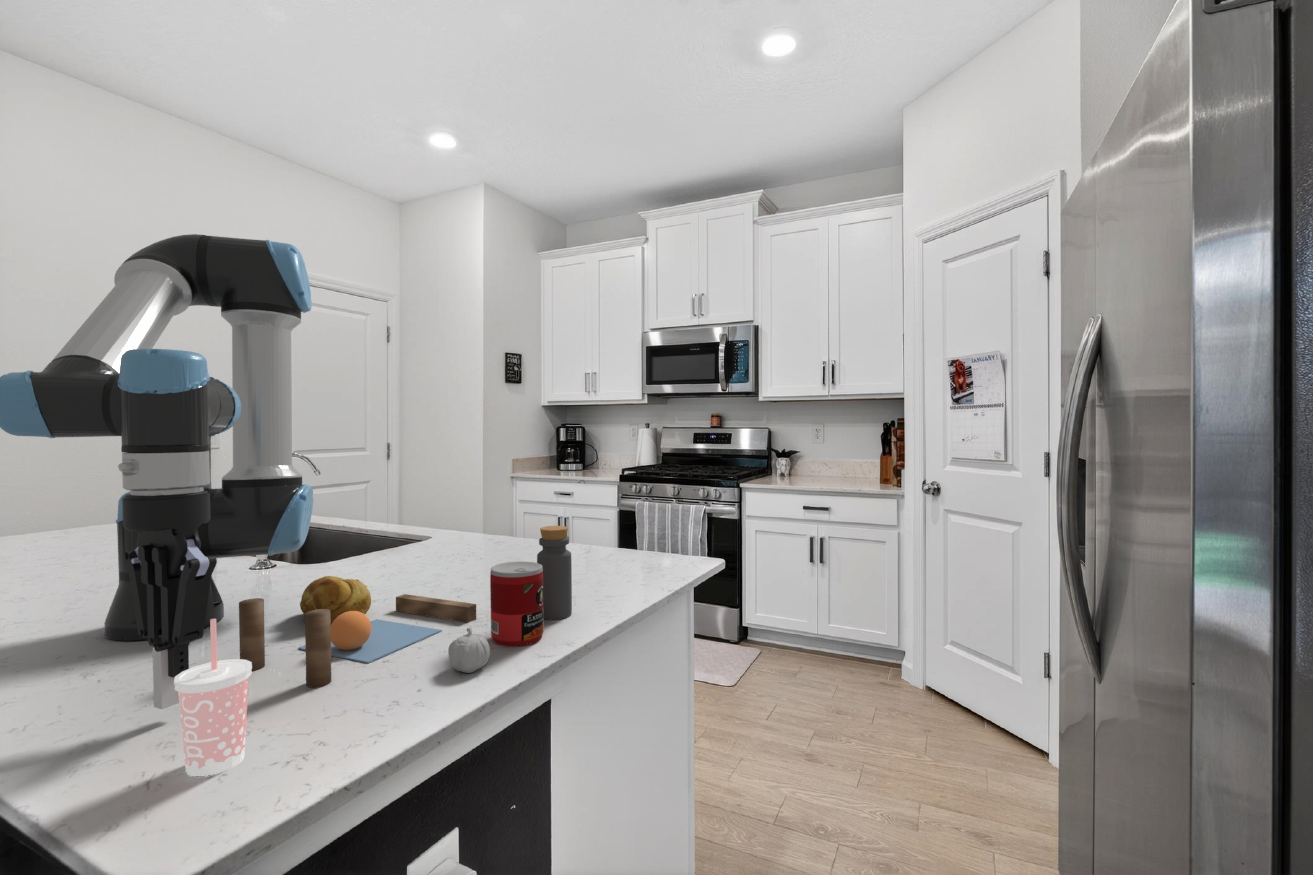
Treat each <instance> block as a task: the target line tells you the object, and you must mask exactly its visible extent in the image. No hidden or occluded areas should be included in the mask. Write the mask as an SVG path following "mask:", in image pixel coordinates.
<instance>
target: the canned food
mask: <svg viewBox="0 0 1313 875" xmlns="http://www.w3.org/2000/svg"><path fill="white" fill-rule="evenodd" d="M489 574H490V575H489V576H490V577H489V578H490V580H489V584H490V585H489V587H490V588H489V590H490V636H491V639H492V642H493V643H494V644H496V645H498V646H502V647H510V648H512V647H513V648H514V647H515V648H516V647H524V646H529V645H533V644H535V643H537V642H538V641H540V640H541V639H542V637H543V633H544V619H543V568H542V565H541V564H538V563H537V562H534V561H509V562H501V563H498V564H495V565H493V566H491V568H490V573H489Z"/></svg>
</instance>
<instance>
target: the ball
mask: <svg viewBox="0 0 1313 875" xmlns="http://www.w3.org/2000/svg"><path fill="white" fill-rule="evenodd" d="M370 621H371V620H370V618H369V617H368V616H367V615H366V614H363V613H361V612H358V611H348V612H345V613H343V614H341V615H339V616H338V617H337V618H336V619H335V620H334V621H333V623H332V624H331V642H332V643H333V645H334V646H335V647H337V648H339V649H341V650H354V649H357V648H359V647H361V646H362V645H363V644H364V643H365V642H366V641H367V640H368V638H369V636H370V634H371V622H370Z"/></svg>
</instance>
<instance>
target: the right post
mask: <svg viewBox="0 0 1313 875" xmlns="http://www.w3.org/2000/svg"><path fill="white" fill-rule="evenodd" d="M304 625H305V626H304V629H305V630H304V634H305V639H304V640H305V643H304V644H305V646H306V651H305V687H307V688H311V689H312V688H314V689H315V688H321V687H325V686H327V685H329V684H330V683H331V682H332V656H331V618H330V610H329V609H317V610H312V611H309V612H307V613H305V615H304Z"/></svg>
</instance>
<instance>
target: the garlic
mask: <svg viewBox="0 0 1313 875" xmlns="http://www.w3.org/2000/svg"><path fill="white" fill-rule="evenodd" d="M466 632H467V634H463V635H461V636H459V637H457V638H456V639H454V640H453V641H452V642H451V643H450V644H449V645H448V651H447V652H448V659H449V660H448V661H449V665H450V666H451V667H452V668H453V669H455V670H457V671H459V672H460V673H461V672H463V673H465V674H466V673H467V674H472V673H474V672H476V671H478V670H480V669H481V668H483V667H484V666H485V665H486V664H487V663H488V661H489V658H490V657H491V656H490V655H491V647H490V644H489V641H488V639H487V638H486V637H485V636H484V635H482V634H476V633H473V630H472V628H471V627H467V628H466Z"/></svg>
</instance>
